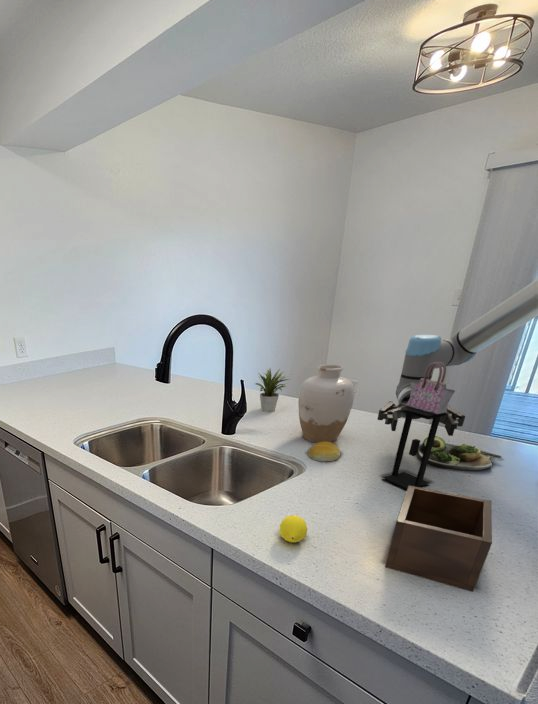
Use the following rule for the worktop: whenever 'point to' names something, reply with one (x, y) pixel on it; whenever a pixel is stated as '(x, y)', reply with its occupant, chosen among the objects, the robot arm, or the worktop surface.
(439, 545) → the open brown wooden box
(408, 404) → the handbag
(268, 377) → the house plant
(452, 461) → the salad plate
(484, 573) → the worktop surface
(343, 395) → the vase
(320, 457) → the bread roll
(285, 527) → the lemon
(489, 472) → the worktop surface
